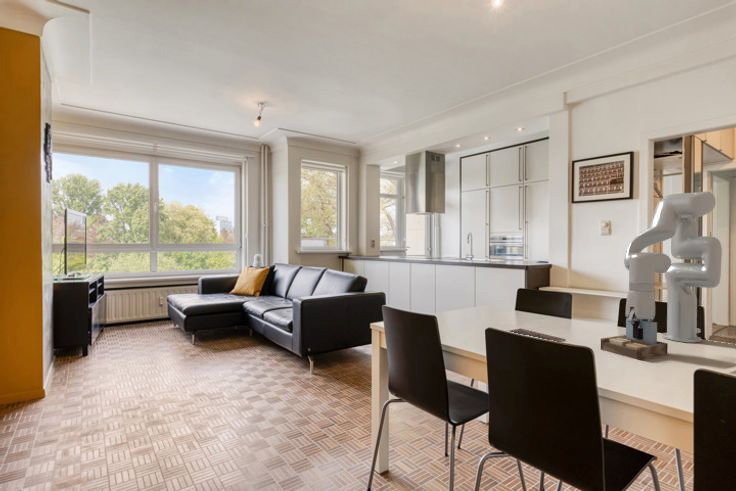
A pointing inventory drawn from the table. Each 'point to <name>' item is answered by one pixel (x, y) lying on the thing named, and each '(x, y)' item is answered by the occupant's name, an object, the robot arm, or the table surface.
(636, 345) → the offcut
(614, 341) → the offcut
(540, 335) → the picture frame
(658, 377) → the table surface
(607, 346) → the rack
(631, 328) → the panel
